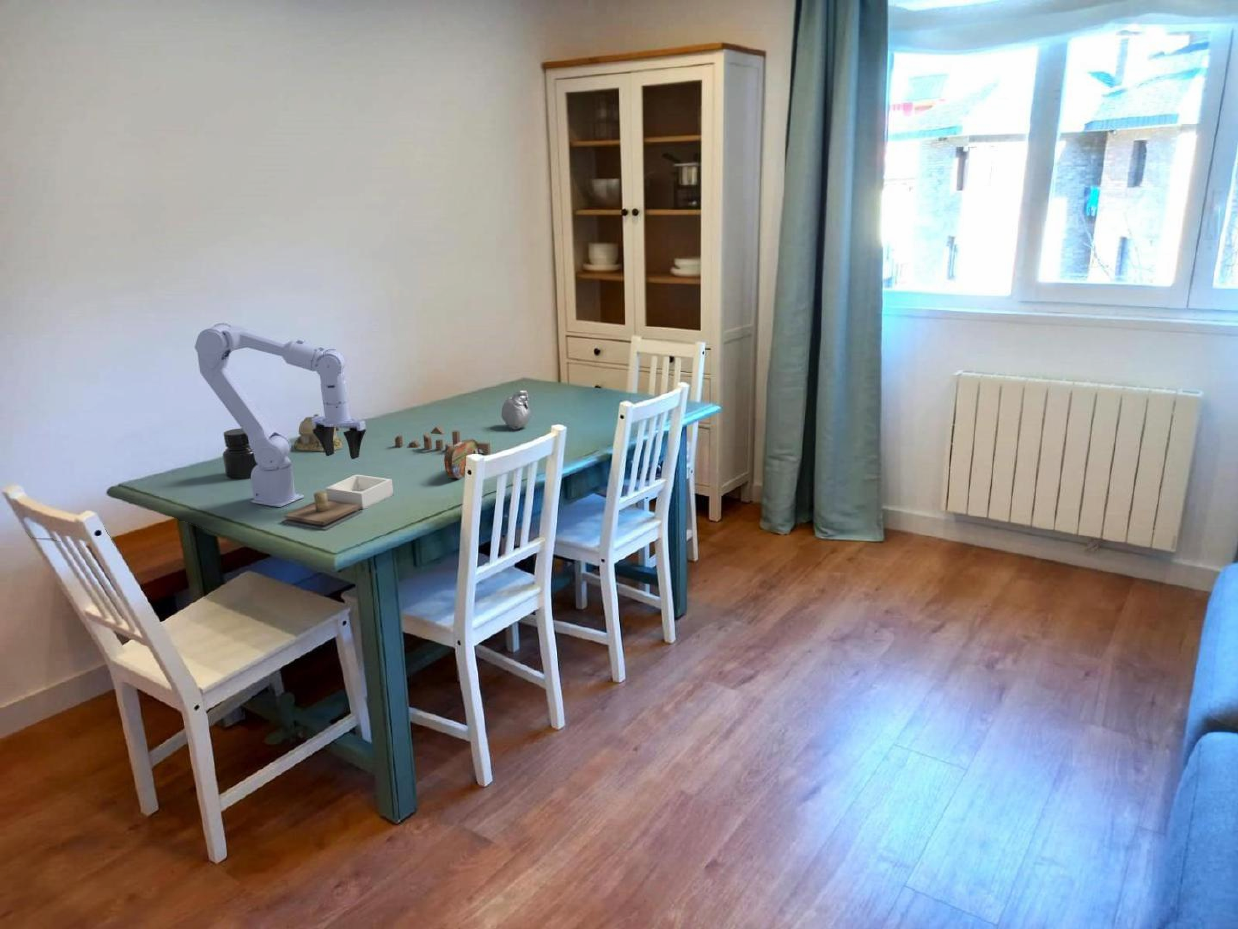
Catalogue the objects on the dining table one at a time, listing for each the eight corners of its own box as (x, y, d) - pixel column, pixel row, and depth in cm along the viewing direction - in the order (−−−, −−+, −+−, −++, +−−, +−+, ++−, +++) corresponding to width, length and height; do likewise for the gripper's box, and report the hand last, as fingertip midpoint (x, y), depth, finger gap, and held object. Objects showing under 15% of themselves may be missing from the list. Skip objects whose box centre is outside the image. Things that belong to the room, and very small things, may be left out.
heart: (498, 423, 275) (496, 388, 269) (527, 419, 277) (526, 385, 272) (504, 436, 266) (502, 400, 261) (534, 433, 269) (533, 397, 263)
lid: (285, 520, 196) (282, 498, 195) (322, 504, 206) (319, 482, 205) (324, 528, 191) (321, 505, 190) (360, 510, 201) (357, 488, 200)
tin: (454, 483, 220) (451, 451, 218) (443, 482, 221) (440, 450, 219) (481, 465, 234) (479, 435, 231) (471, 464, 235) (469, 434, 232)
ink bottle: (270, 470, 234) (264, 428, 230) (249, 481, 225) (241, 437, 222) (240, 468, 236) (233, 426, 232) (217, 478, 228) (210, 435, 224)
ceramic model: (349, 441, 260) (345, 409, 257) (338, 452, 250) (334, 418, 247) (302, 442, 260) (297, 410, 257) (289, 453, 249) (284, 420, 246)
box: (327, 503, 207) (325, 488, 206) (358, 489, 217) (356, 474, 216) (363, 509, 203) (361, 493, 202) (393, 494, 212) (391, 479, 211)
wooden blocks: (492, 453, 246) (491, 428, 244) (488, 456, 244) (486, 431, 241) (400, 445, 255) (398, 420, 253) (395, 447, 253) (393, 423, 250)
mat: (281, 522, 196) (281, 521, 196) (319, 505, 206) (319, 504, 206) (325, 530, 191) (325, 529, 191) (362, 512, 201) (362, 511, 201)
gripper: (299, 403, 204) (307, 458, 208) (348, 407, 198) (355, 464, 203) (320, 396, 210) (327, 450, 214) (368, 400, 205) (374, 455, 209)
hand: (342, 456), depth 209 cm, fingers open, 7 cm apart
